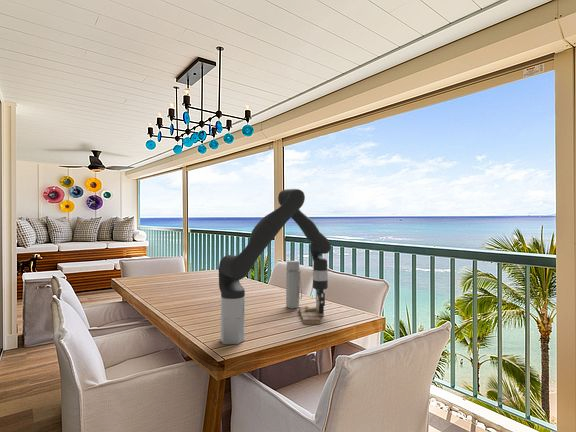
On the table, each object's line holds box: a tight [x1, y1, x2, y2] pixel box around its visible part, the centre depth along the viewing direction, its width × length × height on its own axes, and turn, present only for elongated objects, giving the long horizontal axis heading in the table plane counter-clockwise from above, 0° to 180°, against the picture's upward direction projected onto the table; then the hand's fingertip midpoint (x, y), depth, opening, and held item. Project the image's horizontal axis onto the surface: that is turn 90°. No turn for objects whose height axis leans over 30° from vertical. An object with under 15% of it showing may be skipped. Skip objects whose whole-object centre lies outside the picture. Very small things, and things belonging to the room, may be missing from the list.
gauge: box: [304, 301, 325, 317], centre depth 164 cm, size 5×9×6 cm, turn 93°
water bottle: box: [285, 260, 303, 309], centre depth 178 cm, size 9×8×25 cm
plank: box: [298, 306, 322, 325], centre depth 160 cm, size 22×8×2 cm, turn 3°
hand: (319, 311), depth 164 cm, fingers open, 8 cm apart
